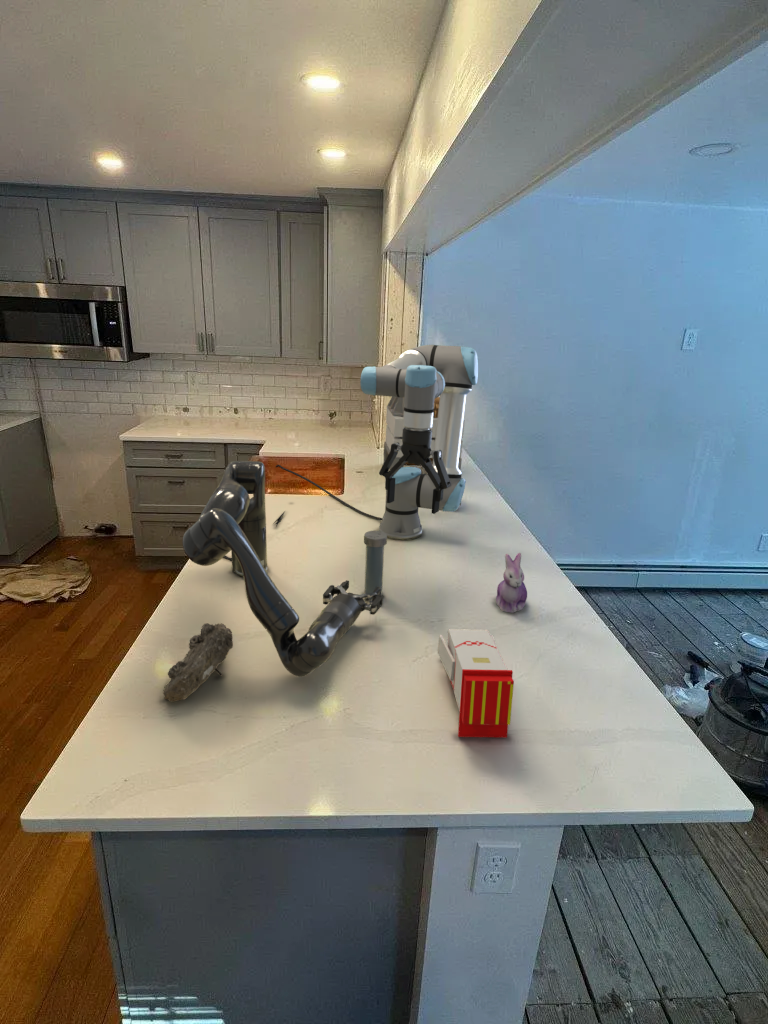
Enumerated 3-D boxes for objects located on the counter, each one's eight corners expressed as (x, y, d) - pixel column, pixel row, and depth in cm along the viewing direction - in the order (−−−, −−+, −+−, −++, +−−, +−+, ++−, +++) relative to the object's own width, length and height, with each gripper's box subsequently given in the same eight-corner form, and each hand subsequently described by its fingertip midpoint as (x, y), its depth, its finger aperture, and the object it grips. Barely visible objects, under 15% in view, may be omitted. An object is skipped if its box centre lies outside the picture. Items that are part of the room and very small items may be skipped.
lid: (373, 536, 155) (374, 528, 155) (391, 542, 152) (391, 534, 151) (359, 542, 151) (359, 534, 150) (376, 549, 147) (377, 541, 147)
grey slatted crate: (382, 463, 289) (386, 382, 275) (445, 464, 293) (451, 384, 279) (390, 482, 257) (394, 392, 243) (460, 483, 261) (468, 394, 247)
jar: (372, 589, 160) (374, 531, 154) (385, 594, 157) (388, 536, 151) (360, 595, 156) (362, 536, 150) (374, 601, 153) (376, 541, 147)
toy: (488, 613, 130) (523, 677, 101) (484, 667, 133) (517, 744, 104) (435, 612, 130) (455, 676, 101) (432, 666, 133) (451, 743, 103)
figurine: (509, 617, 148) (516, 565, 143) (485, 599, 156) (491, 550, 151) (537, 610, 152) (544, 559, 147) (512, 593, 161) (519, 544, 156)
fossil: (187, 626, 130) (233, 595, 125) (216, 654, 133) (262, 625, 128) (141, 695, 110) (194, 662, 105) (176, 726, 113) (229, 696, 108)
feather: (291, 505, 226) (294, 501, 225) (275, 529, 199) (277, 524, 199) (288, 503, 226) (290, 499, 225) (270, 526, 199) (273, 522, 199)
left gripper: (367, 608, 129) (389, 578, 144) (310, 596, 133) (337, 568, 148) (366, 636, 132) (388, 604, 146) (310, 624, 136) (337, 594, 150)
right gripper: (468, 433, 141) (460, 513, 148) (383, 419, 153) (380, 494, 160) (455, 437, 135) (448, 521, 142) (368, 423, 147) (365, 501, 154)
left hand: (363, 586), depth 147 cm, fingers open, 8 cm apart
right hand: (412, 507), depth 151 cm, fingers open, 13 cm apart
